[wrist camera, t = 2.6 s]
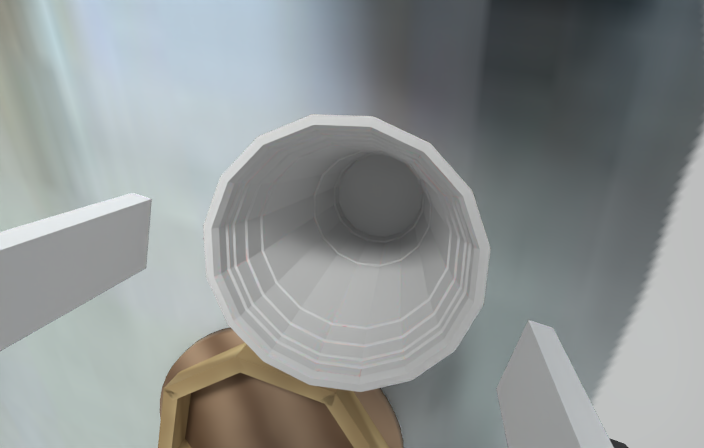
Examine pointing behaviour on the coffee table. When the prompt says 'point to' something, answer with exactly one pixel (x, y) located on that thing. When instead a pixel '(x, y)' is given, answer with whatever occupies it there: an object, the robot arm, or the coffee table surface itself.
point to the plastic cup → (346, 252)
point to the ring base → (263, 405)
